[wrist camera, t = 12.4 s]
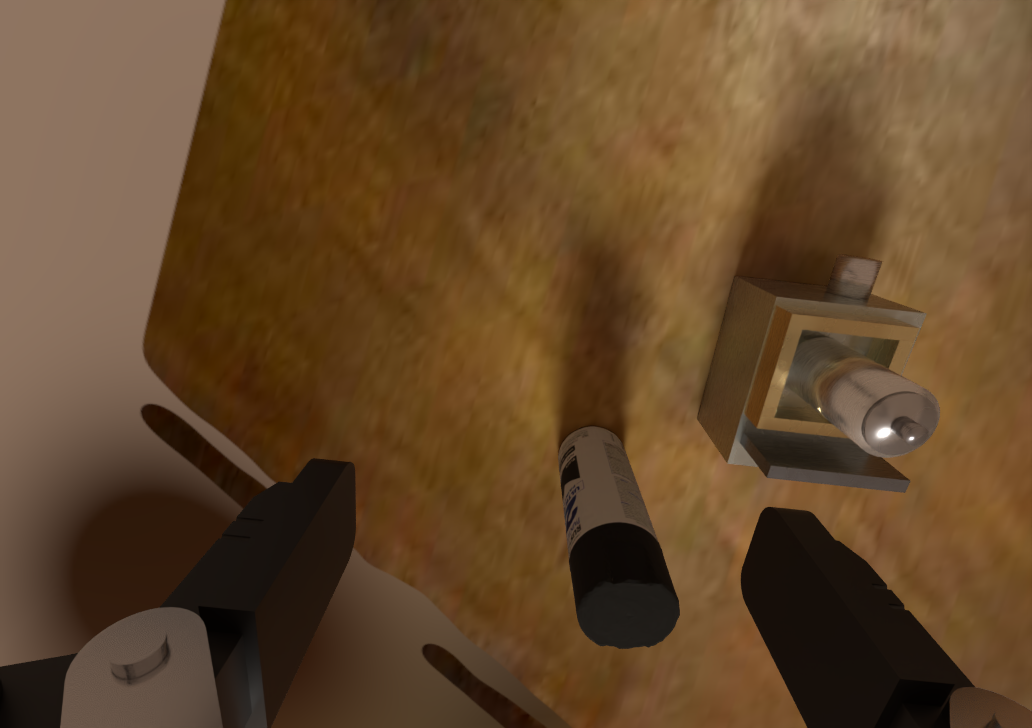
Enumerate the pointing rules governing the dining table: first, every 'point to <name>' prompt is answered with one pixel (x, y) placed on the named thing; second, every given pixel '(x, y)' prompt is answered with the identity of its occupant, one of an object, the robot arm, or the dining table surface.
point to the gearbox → (767, 360)
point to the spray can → (612, 545)
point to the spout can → (863, 398)
